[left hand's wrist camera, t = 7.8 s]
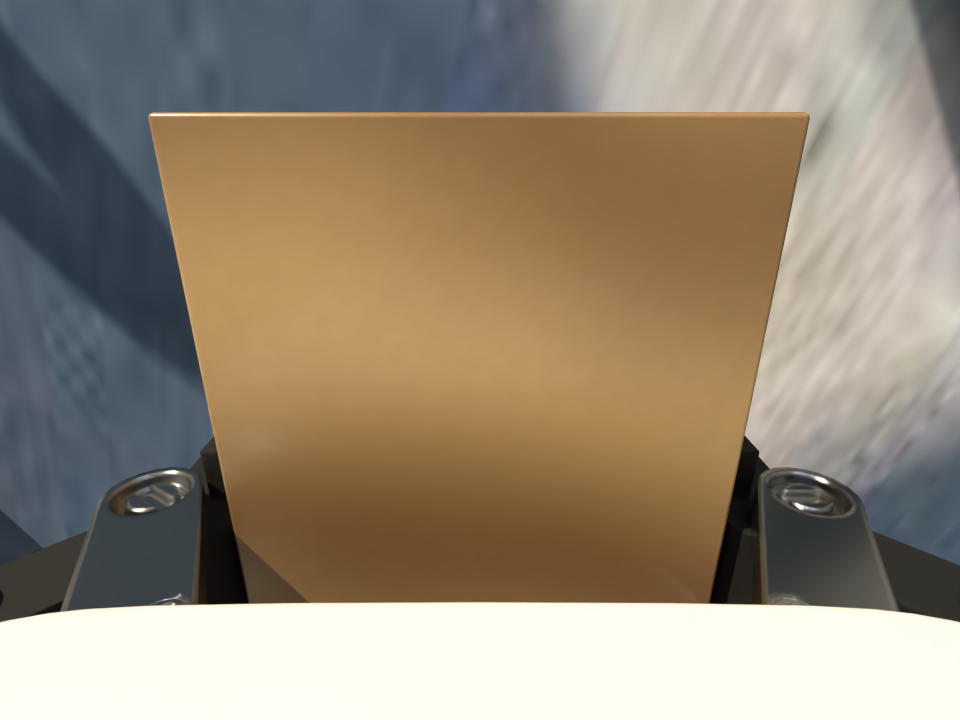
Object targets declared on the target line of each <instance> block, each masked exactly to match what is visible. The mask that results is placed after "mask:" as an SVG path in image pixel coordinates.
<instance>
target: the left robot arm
mask: <svg viewBox="0 0 960 720" xmlns="http://www.w3.org/2000/svg"><path fill="white" fill-rule="evenodd" d="M200 453H201V457H200V458H199V459H198V460H197V462H196V463H195V464H194V465H193V466H192V467H191V468H190V469H187V468H175V467H170V468H162V469H155V470H152V471H148V472H144V473H140V474H138V475H135V476H133V477H130V478H128V479H126V480H124V481H122V482H120V483H119V484H117V485H115V486H113V487H112V488H111V489H109V490H108V491H107V492H106V493H105V494H104V495H102V497H101V498H100V500H99V501H98V503H97V505H96V507H95V510H94V513H93V516H92V519H91V522H90V525H89V528H88V531H86V532H84V533H81V534H79V535H76V536H74V537H71V538H69V539H66V540H63V541H61V542H58V543H56V544H53V545H51V546H48V547H46V548H43V549H41V550H38V551H36V552H33V553H31V554H28V555H26V556H23V557H21V558H18V559H16V560H13V561H11V562H8V563H6V564H3V565H0V720H960V566H959V565H957V564H954V563H952V562H949V561H947V560H944V559H942V558H939V557H937V556H934V555H932V554H929V553H926V552H924V551H921V550H919V549H916V548H914V547H911V546H909V545H906V544H904V543H901V542H899V541H896V540H894V539H891V538H889V537H886V536H884V535H881V534H879V533H876V532H874V531H872V528H871V525H870V522H869V519H868V516H867V513H866V510H865V507H864V505H863V503H862V501H861V500H860V498H859V497H858V495H856V494H855V493H854V492H853V491H852V490H851V489H849V488H848V487H847V486H845V485H843V484H841V483H840V482H838V481H836V480H834V479H832V478H830V477H827V476H825V475H822V474H820V473H816V472H812V471H808V470H805V469H798V468H790V467H785V468H773V469H769V468H768V467H767V465H766V464H765V463H764V462H763V461H762V460H761V459H760V458H759V457H758V456H759V451H758V450H757V449H756V447H755V446H754V445H753V444H752V443H751V442H750V441H749V440H748V439H747V438H746V437H745V435H744V440H743V444H742V449H741V454H740V459H739V464H738V469H737V474H736V478H735V483H734V488H733V493H732V498H731V503H730V508H729V512H728V517H727V522H726V527H725V532H724V537H723V542H722V546H721V551H720V556H719V561H718V566H717V571H716V576H715V580H714V585H713V590H712V595H711V600H710V604H689V603H531V602H429V603H271V604H249V602H248V598H247V593H246V588H245V583H244V578H243V573H242V569H241V564H240V559H239V554H238V549H237V544H236V540H235V535H234V530H233V525H232V520H231V515H230V510H229V506H228V501H227V496H226V491H225V486H224V481H223V477H222V472H221V467H220V462H219V457H218V452H217V448H216V443H215V438H214V437H213V438H212V439H211V440H210V441H209V443H208V444H207V445H206V446H205V447H204V448H203V449H202V450H201V451H200Z"/></svg>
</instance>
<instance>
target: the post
mask: <svg viewBox="0 0 960 720" xmlns="http://www.w3.org/2000/svg"><path fill="white" fill-rule="evenodd" d="M148 119H149V124H150V128H151V133H152V138H153V143H154V148H155V153H156V157H157V162H158V167H159V172H160V177H161V182H162V186H163V191H164V196H165V201H166V206H167V211H168V215H169V220H170V225H171V230H172V235H173V240H174V244H175V249H176V254H177V259H178V264H179V269H180V273H181V278H182V283H183V288H184V293H185V298H186V302H187V307H188V312H189V317H190V322H191V327H192V332H193V336H194V341H195V346H196V351H197V356H198V361H199V365H200V370H201V375H202V380H203V385H204V390H205V394H206V399H207V404H208V409H209V414H210V419H211V423H212V428H213V433H214V438H215V443H216V448H217V452H218V457H219V462H220V467H221V472H222V477H223V481H224V486H225V491H226V496H227V501H228V506H229V510H230V515H231V520H232V525H233V530H234V535H235V540H236V544H237V549H238V554H239V559H240V564H241V569H242V573H243V578H244V583H245V588H246V593H247V598H248V602H249V604H271V603H429V602H531V603H689V604H710V600H711V595H712V590H713V585H714V580H715V576H716V571H717V566H718V561H719V556H720V551H721V546H722V542H723V537H724V532H725V527H726V522H727V517H728V512H729V508H730V503H731V498H732V493H733V488H734V483H735V478H736V474H737V469H738V464H739V459H740V454H741V449H742V444H743V440H744V435H745V430H746V425H747V420H748V415H749V410H750V406H751V401H752V396H753V391H754V386H755V381H756V377H757V372H758V367H759V362H760V357H761V352H762V347H763V343H764V338H765V333H766V328H767V323H768V318H769V313H770V309H771V304H772V299H773V294H774V289H775V284H776V279H777V275H778V270H779V265H780V260H781V255H782V250H783V245H784V241H785V236H786V231H787V226H788V221H789V216H790V211H791V207H792V202H793V197H794V192H795V187H796V182H797V177H798V173H799V168H800V163H801V158H802V153H803V148H804V143H805V139H806V134H807V129H808V124H809V119H810V117H809V114H807V113H805V112H153V113H151V114H149V117H148Z"/></svg>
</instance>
